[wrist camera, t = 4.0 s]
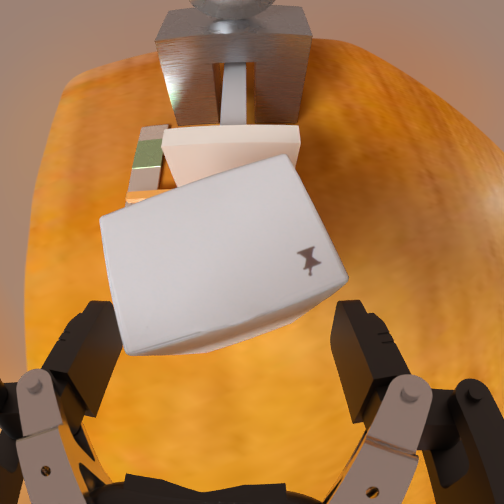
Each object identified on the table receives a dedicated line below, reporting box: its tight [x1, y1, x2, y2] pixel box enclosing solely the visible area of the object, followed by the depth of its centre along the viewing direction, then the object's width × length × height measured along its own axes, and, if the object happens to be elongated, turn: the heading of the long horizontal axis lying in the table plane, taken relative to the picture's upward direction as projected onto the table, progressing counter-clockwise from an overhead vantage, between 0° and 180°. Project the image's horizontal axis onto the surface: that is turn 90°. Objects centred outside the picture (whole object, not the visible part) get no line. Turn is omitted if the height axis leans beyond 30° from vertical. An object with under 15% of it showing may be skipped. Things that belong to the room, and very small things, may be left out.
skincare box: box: [100, 154, 349, 356], centre depth 13 cm, size 6×4×12 cm
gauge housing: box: [125, 0, 312, 207], centre depth 16 cm, size 13×15×15 cm
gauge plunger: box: [125, 62, 301, 203], centre depth 19 cm, size 11×11×6 cm
